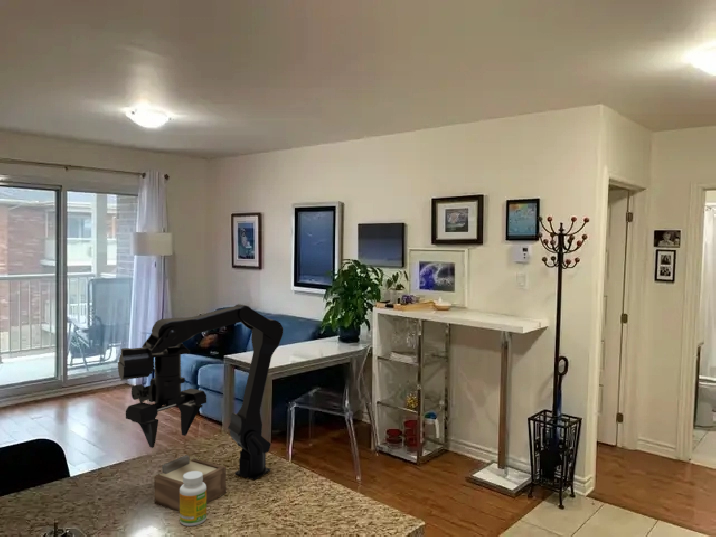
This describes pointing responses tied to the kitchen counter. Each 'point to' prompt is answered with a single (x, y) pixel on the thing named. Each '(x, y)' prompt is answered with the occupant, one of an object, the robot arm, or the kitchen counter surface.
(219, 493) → the box
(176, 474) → the lid
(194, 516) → the supplement bottle
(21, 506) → the kitchen counter surface
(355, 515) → the kitchen counter surface
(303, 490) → the kitchen counter surface
